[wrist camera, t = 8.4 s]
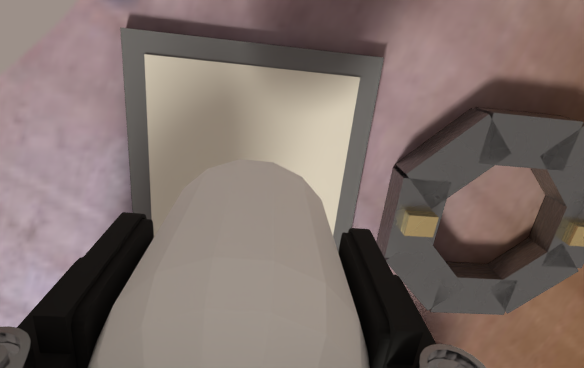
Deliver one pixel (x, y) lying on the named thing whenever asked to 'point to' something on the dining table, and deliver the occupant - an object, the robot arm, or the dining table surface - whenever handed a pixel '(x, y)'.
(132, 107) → the mat
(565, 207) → the socket ring
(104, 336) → the capsule
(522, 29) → the dining table surface
